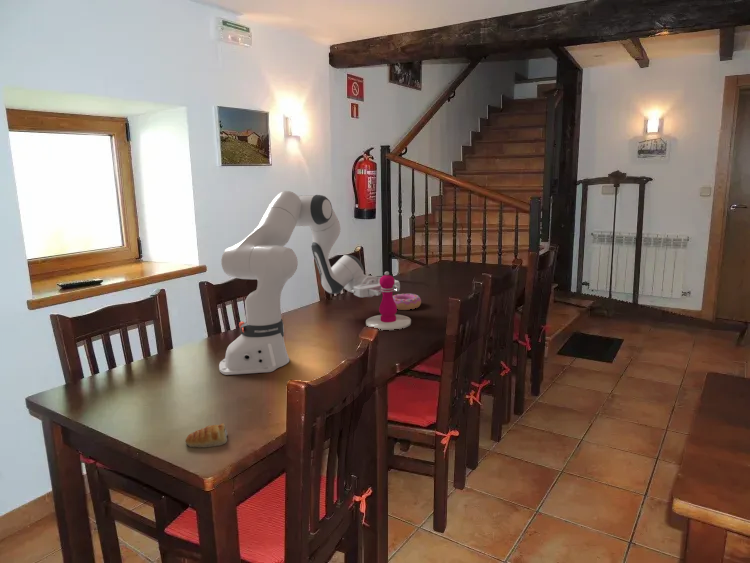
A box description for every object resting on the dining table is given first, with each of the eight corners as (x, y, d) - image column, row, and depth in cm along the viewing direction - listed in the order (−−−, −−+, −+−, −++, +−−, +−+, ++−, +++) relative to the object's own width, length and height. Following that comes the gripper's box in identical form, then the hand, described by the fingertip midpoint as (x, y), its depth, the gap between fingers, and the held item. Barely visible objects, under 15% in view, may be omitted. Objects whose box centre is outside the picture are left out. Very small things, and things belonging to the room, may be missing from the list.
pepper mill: (395, 323, 210) (394, 273, 206) (377, 322, 212) (375, 273, 208) (398, 318, 217) (397, 269, 213) (381, 317, 218) (379, 269, 214)
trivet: (372, 332, 204) (372, 328, 204) (361, 320, 221) (361, 317, 221) (417, 327, 208) (417, 323, 208) (402, 315, 225) (402, 312, 225)
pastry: (185, 453, 121) (183, 437, 120) (186, 439, 128) (184, 424, 127) (228, 445, 124) (226, 430, 123) (227, 432, 130) (225, 417, 129)
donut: (421, 302, 246) (421, 292, 245) (420, 311, 233) (420, 299, 232) (390, 303, 248) (390, 292, 247) (388, 311, 234) (387, 300, 233)
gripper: (347, 282, 215) (367, 287, 204) (387, 275, 227) (408, 279, 216) (347, 297, 217) (367, 303, 206) (387, 289, 228) (408, 294, 218)
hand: (388, 291), depth 211 cm, fingers open, 8 cm apart
